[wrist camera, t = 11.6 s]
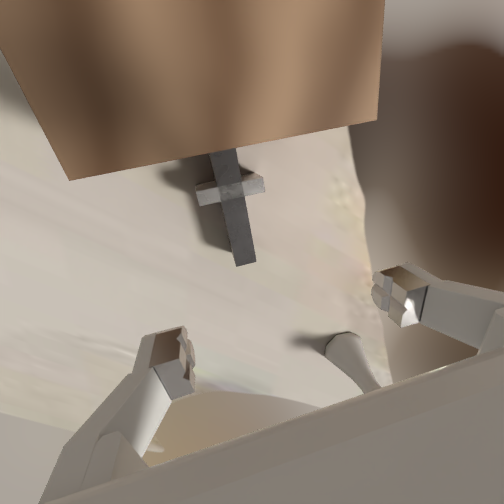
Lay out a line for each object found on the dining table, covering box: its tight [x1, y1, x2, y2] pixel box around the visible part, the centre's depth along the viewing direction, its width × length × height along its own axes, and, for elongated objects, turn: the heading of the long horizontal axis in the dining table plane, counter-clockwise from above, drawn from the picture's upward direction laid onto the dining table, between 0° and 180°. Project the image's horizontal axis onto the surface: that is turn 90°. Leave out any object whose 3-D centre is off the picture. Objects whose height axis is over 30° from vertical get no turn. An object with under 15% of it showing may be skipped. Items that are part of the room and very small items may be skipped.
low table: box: [0, 0, 385, 181], centre depth 17 cm, size 18×12×14 cm, turn 100°
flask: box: [325, 332, 382, 394], centre depth 40 cm, size 7×7×10 cm
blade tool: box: [196, 148, 265, 267], centre depth 23 cm, size 8×30×4 cm, turn 10°
